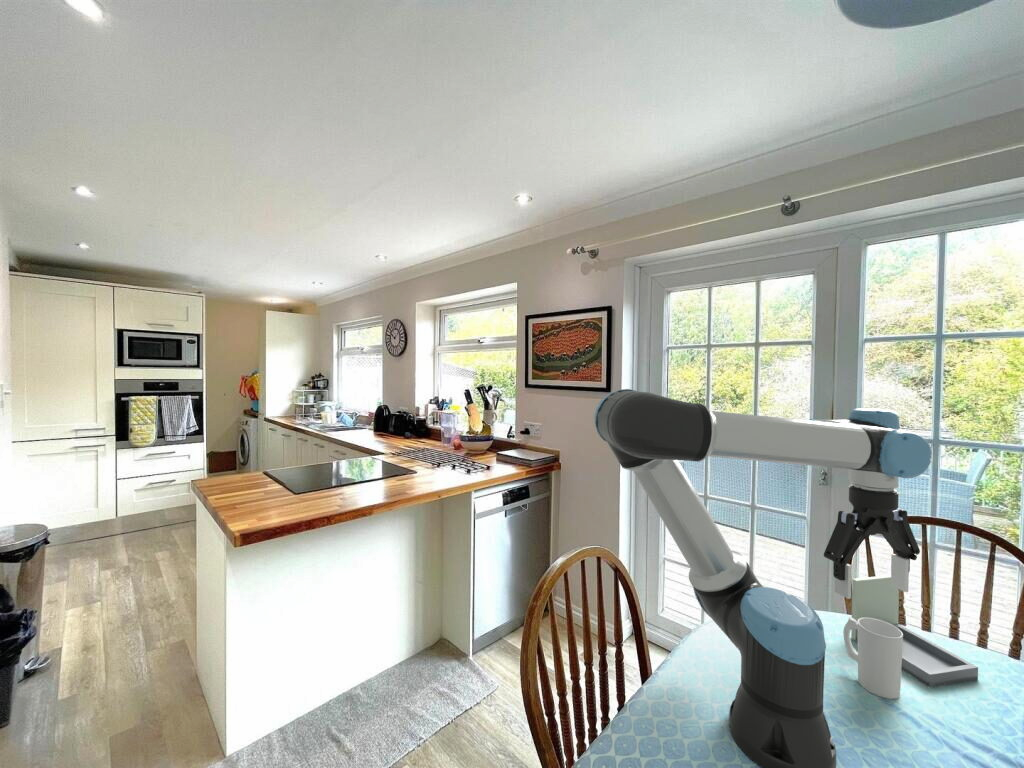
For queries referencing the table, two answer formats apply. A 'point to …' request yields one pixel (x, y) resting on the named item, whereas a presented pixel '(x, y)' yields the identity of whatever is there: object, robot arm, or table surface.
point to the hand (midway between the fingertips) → (871, 592)
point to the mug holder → (908, 635)
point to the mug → (877, 655)
